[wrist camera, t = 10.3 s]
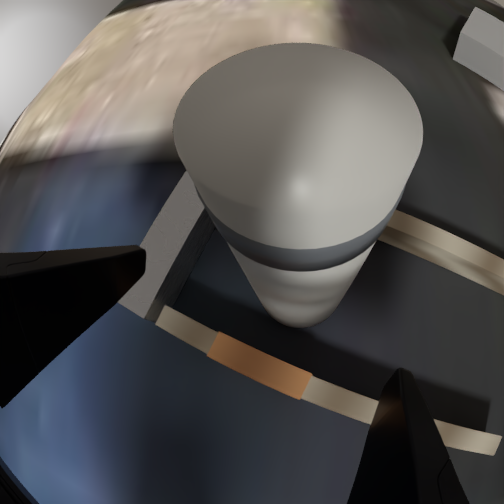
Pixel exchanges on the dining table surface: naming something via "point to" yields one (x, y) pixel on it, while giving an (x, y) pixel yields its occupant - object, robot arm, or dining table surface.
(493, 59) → the disc drive
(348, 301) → the dining table surface
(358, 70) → the grey capped post
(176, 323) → the beige u-shaped frame
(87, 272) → the robot arm
